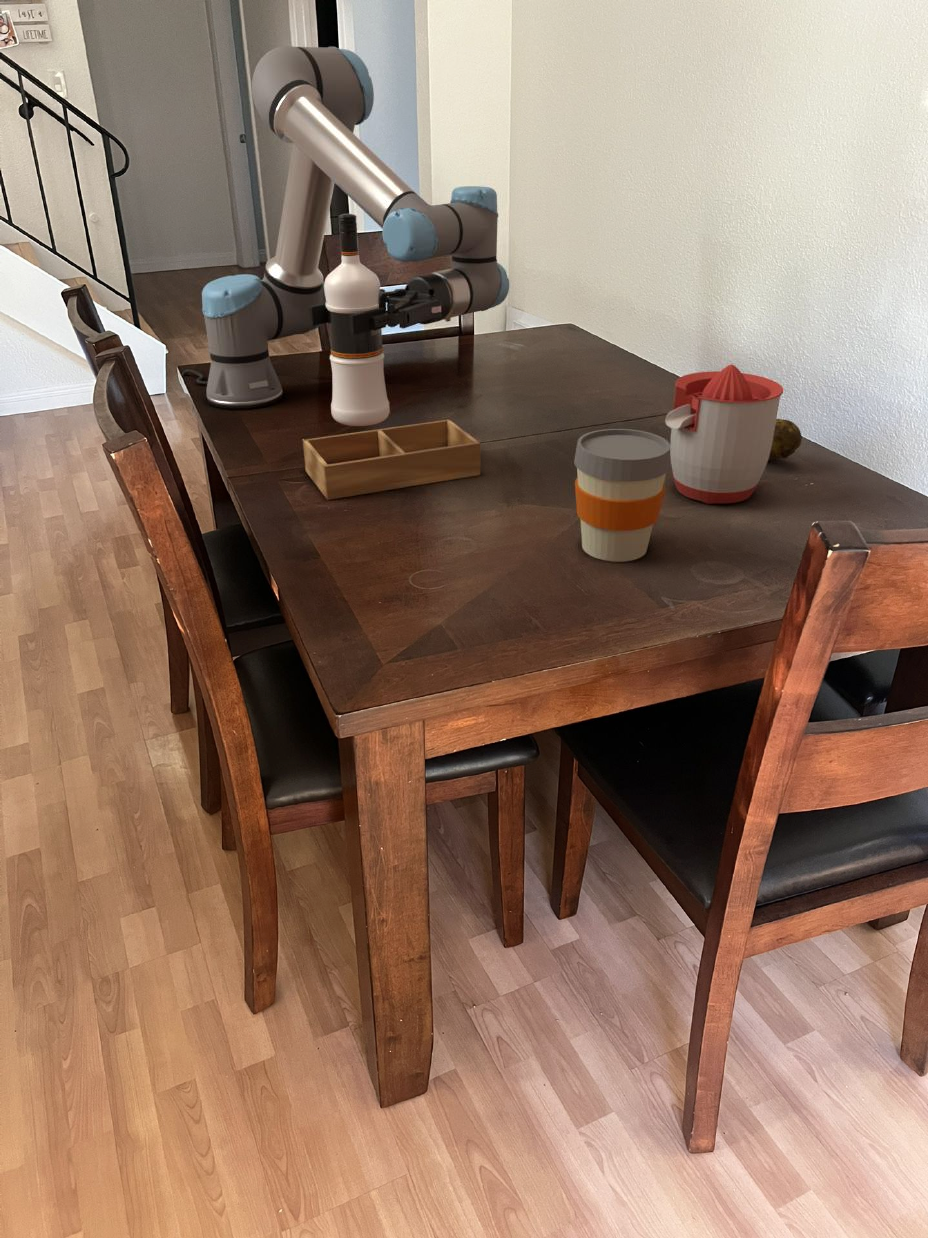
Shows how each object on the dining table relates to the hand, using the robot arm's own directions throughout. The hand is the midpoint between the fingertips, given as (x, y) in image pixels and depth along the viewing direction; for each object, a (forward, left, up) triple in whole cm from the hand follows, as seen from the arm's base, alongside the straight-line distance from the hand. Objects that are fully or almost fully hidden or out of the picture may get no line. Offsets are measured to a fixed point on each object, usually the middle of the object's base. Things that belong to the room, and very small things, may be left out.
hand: (330, 320), depth 132 cm
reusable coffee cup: (+38, +28, -26) cm, 54 cm away
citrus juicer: (+27, +52, -26) cm, 64 cm away
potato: (+19, +69, -26) cm, 76 cm away
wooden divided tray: (-1, +9, -26) cm, 27 cm away
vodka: (-2, +4, -16) cm, 17 cm away
